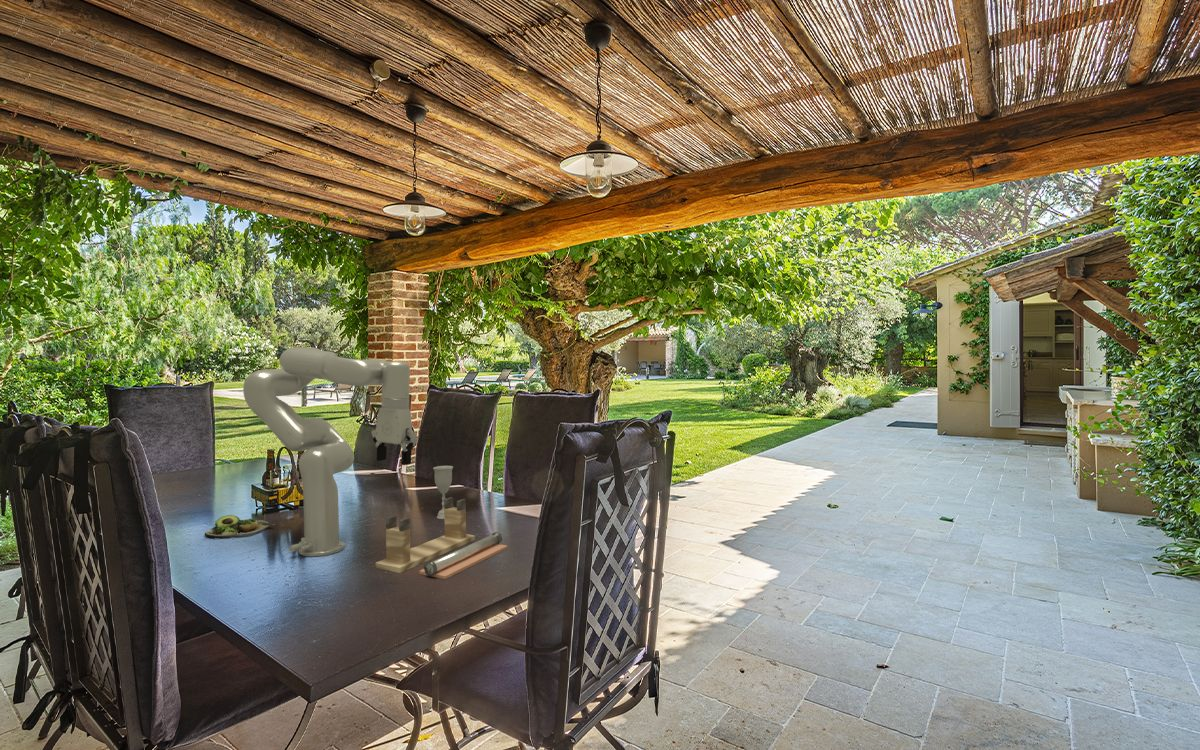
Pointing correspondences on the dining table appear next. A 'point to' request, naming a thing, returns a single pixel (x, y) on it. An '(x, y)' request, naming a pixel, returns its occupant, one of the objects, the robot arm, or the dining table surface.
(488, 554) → the terracotta mat
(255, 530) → the salad plate
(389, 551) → the rail stand
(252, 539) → the dining table surface
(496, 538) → the steel rail
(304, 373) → the robot arm
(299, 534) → the dining table surface
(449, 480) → the chalice
